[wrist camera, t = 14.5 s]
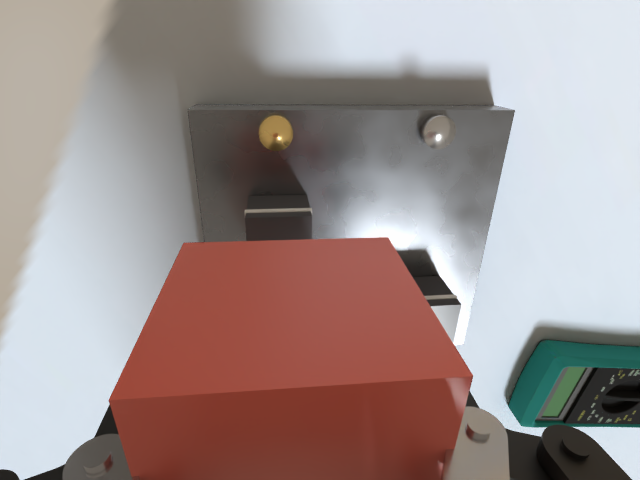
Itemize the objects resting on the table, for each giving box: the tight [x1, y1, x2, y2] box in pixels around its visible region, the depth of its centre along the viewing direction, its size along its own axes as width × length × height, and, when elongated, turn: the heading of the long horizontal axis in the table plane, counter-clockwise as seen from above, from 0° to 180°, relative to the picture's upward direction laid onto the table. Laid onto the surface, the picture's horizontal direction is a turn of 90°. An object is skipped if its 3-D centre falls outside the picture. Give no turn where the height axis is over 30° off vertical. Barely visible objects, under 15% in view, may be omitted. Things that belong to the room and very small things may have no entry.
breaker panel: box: [188, 105, 515, 345], centre depth 23 cm, size 15×16×3 cm
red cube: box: [109, 237, 473, 480], centre depth 11 cm, size 6×6×6 cm
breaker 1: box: [245, 195, 312, 241], centre depth 19 cm, size 3×3×3 cm
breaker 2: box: [413, 276, 461, 344], centre depth 23 cm, size 3×3×3 cm
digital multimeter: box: [509, 340, 640, 427], centre depth 31 cm, size 7×15×3 cm, turn 81°
